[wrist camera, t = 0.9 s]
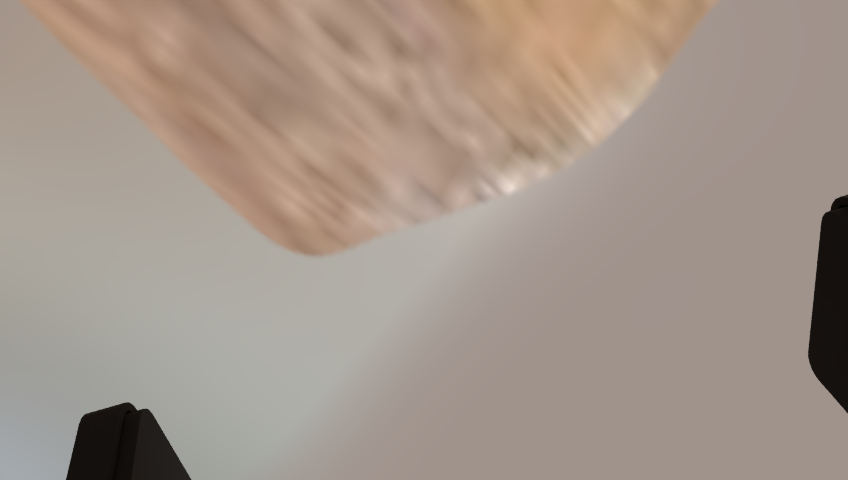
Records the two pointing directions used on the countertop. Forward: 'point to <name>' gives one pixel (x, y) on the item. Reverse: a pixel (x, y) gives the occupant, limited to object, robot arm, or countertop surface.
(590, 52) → the countertop surface
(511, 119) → the countertop surface
